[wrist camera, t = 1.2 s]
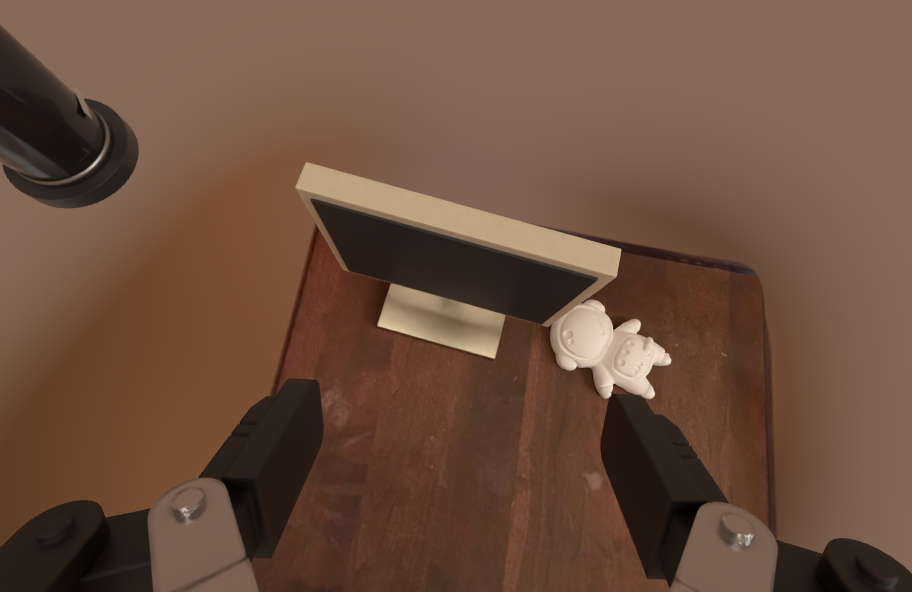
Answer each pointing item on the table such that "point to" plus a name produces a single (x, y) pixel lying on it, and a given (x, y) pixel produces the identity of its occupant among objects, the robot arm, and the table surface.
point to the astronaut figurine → (606, 349)
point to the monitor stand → (441, 321)
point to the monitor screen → (454, 248)
